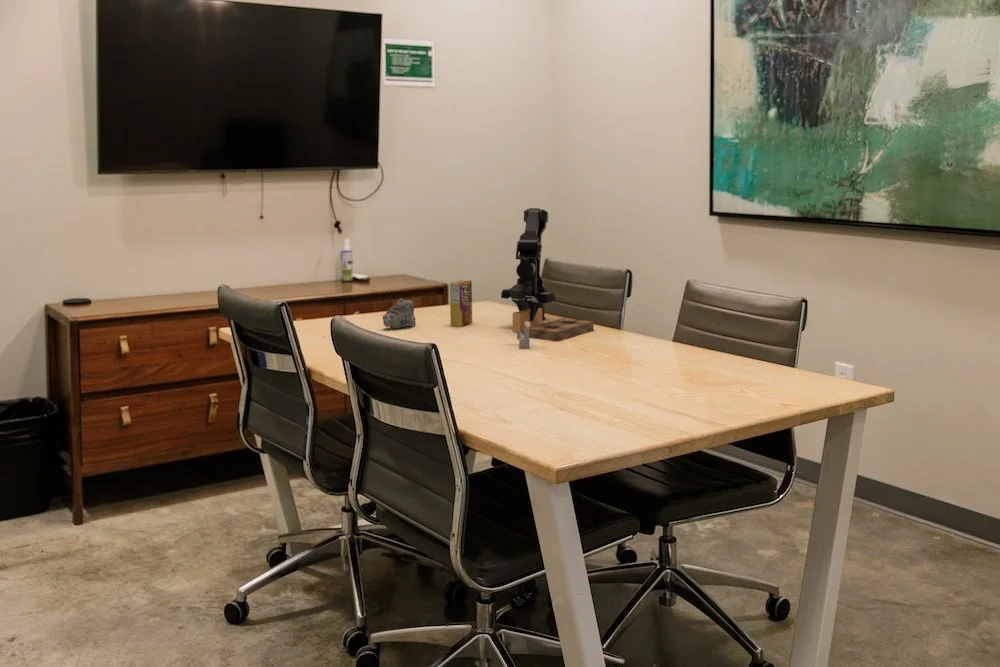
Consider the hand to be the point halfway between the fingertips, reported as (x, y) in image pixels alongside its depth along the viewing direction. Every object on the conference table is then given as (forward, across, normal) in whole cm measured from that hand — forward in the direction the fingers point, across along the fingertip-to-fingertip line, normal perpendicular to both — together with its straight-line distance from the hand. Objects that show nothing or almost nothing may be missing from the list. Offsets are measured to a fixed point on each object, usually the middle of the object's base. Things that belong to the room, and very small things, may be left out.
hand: (527, 320), depth 352 cm
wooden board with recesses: (+3, +13, 0) cm, 13 cm away
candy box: (+3, -23, -7) cm, 24 cm away
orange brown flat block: (+3, 0, 0) cm, 3 cm away
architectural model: (+4, +11, -28) cm, 31 cm away
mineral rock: (+3, -37, -24) cm, 44 cm away
